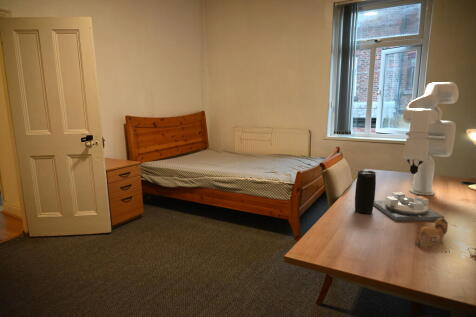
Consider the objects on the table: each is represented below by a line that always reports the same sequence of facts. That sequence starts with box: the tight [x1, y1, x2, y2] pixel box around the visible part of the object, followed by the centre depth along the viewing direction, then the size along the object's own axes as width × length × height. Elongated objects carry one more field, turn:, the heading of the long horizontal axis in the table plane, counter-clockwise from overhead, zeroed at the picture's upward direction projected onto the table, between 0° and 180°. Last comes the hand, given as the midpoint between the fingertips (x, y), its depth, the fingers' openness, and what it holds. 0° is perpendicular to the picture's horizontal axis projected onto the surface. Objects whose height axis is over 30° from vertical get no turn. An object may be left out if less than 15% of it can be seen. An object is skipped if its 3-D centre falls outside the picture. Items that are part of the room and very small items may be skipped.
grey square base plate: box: [373, 200, 445, 222], centre depth 146 cm, size 22×22×2 cm
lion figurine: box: [415, 217, 449, 247], centre depth 113 cm, size 15×5×9 cm, turn 117°
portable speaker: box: [354, 170, 377, 215], centre depth 144 cm, size 9×9×20 cm
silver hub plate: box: [384, 191, 430, 215], centre depth 145 cm, size 18×18×5 cm
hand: (413, 173), depth 147 cm, fingers closed
